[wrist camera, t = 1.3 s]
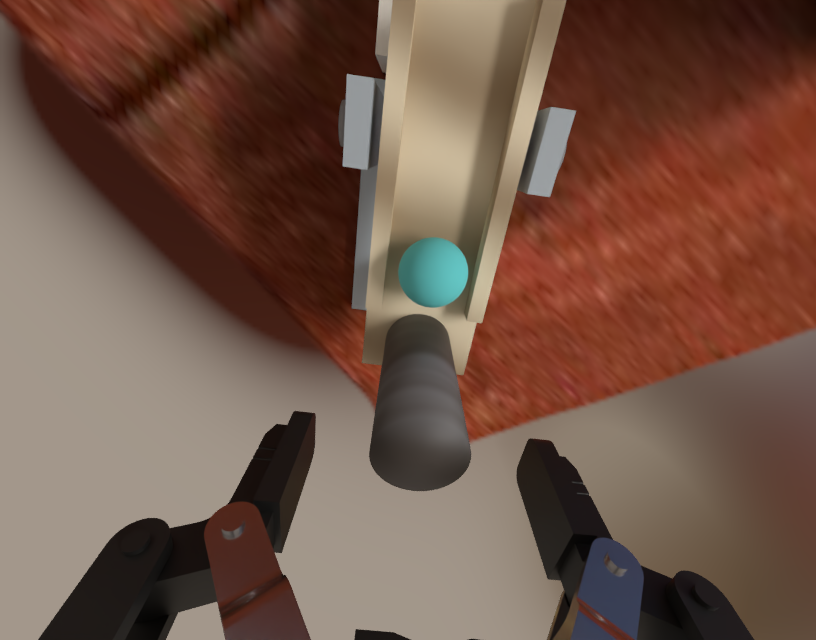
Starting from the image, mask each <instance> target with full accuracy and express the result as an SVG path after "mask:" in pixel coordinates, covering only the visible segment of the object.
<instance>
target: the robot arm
mask: <svg viewBox="0 0 816 640" xmlns="http://www.w3.org/2000/svg"><path fill="white" fill-rule="evenodd" d="M315 419H316V416H315V413H308V412H299V411H294V412H293V414H292V416H291V418H290V420H289V423H288V425H281V424H276V425H275V426H274V427H273V428H272V429H270V430H269V431H268V432H267V433H266V434H265V436H264V437H263V439H262V441H261V443H260V445H259V448H258V449H257V451H256V453H255V455H254V456H253V459H252V460H251V462H250V464H249V466H248V468H247V470H246V472H245V474H244V476H243V477H242V479H241V481H240V483H239V485H238V487H237V489H236V491H235V493H234V495H233V496H232V498H231V500H230V502H229V503H228V504H227V505H226V506H224V507H222V508H221V509H219V510H218V511H217V512H216V513H215V514H214V515H213V516H212V517H211V518H209V519H207V520H204V521H201V522H197V523H193V524H188V525H183V526H179V527H174V528H169V526H168V524H167V523H166V522H165V521H163V520H161V519H158V518H147V519H142V520H139V521H136V522H134V523H131V524H129V525H128V526H126V527H125V528H123V529H121V530H120V531H119V532H118V533H116V534H115V535H114V536H113V537H112V538H111V539H110V540H109V542H108V543H107V544H106V546H105V547H104V548H103V550H102V551H101V553H100V554H99V555H98V557H97V558H96V560H95V561H94V562H93V564H92V565H91V567H90V568H89V569H88V571H87V573H86V574H85V575H84V577H83V578H82V579H81V581H80V582H79V583H78V585H77V586H76V588H75V589H74V590H73V592H72V593H71V595H70V596H69V597H68V599H67V600H66V601H65V603H64V604H63V606H62V607H61V609H60V610H59V612H58V613H57V614H56V615H55V617H54V619H53V620H52V621H51V622H50V624H49V625H48V627H47V628H46V629H45V631H44V632H43V634H42V635H41V637H40V638H39V639H38V640H166V638H167V636H168V633H169V631H170V629H171V627H172V625H173V623H174V620H175V618H176V616H177V614H178V612H181V611H185V610H188V609H192V608H195V607H199V606H203V605H206V604H210V603H213V602H217V603H218V607H219V612H220V617H221V622H222V626H223V631H224V636H225V640H311V639H310V636H309V633H308V631H307V628H306V625H305V623H304V620H303V617H302V615H301V612H300V609H299V607H298V604H297V601H296V598H295V596H294V593H293V590H292V588H291V585H290V583H289V580H288V579H287V577H286V576H285V575H283V574H282V572H281V570H280V567H279V564H278V561H277V559H276V556H275V553H274V552H276V553H282V550H283V547H284V544H285V541H286V538H287V535H288V532H289V529H290V526H291V523H292V520H293V517H294V514H295V511H296V508H297V505H298V501H299V498H300V496H301V492H302V489H303V486H304V483H305V480H306V477H307V474H308V471H309V468H310V465H311V462H312V458H313V454H314V448H315V421H316V420H315ZM517 483H518V486H519V490H520V492H521V496H522V499H523V502H524V505H525V509H526V511H527V515H528V518H529V521H530V524H531V527H532V531H533V534H534V537H535V540H536V543H537V547H538V550H539V553H540V556H541V559H542V562H543V566H544V569H545V572H546V575H547V578H548V579H551V580H561V582H562V585H563V588H564V590H563V592H562V594H561V597H560V600H559V603H558V606H557V609H556V612H555V616H554V619H553V622H552V625H551V628H550V631H549V634H548V637H547V640H754V639H753V637H752V636H751V634H750V633H749V631H748V630H747V628H746V627H745V625H744V624H743V622H742V621H741V619H740V618H739V616H738V615H737V613H736V611H735V610H734V608H733V607H732V605H731V604H730V602H729V601H728V600H727V598H726V597H725V596H724V595H723V593H722V592H721V591H720V590H719V589H718V588H717V587H716V586H714V585H713V584H712V583H711V582H710V581H708V580H707V579H705V578H703V577H702V576H700V575H698V574H696V573H694V572H690V571H680V572H678V573H677V574H676V575H675V576H674V578H673V579H672V578H669V577H667V576H665V575H662V574H660V573H657V572H655V571H652V570H650V569H648V568H645V567H643V566H641V565H640V564H639V562H638V561H637V559H636V558H635V557H634V556H633V554H632V553H631V552H630V551H629V550H628V549H627V548H625V547H624V546H623V545H621V544H620V543H618V542H616V541H614V540H613V539H612V537H611V535H610V533H609V531H608V529H607V527H606V525H605V523H604V522H603V520H602V518H601V516H600V514H599V512H598V510H597V508H596V506H595V504H594V502H593V500H592V498H591V497H590V496H589V493H588V491H587V489H586V487H585V485H583V481H582V479H581V477H580V475H579V474H578V471H577V469H576V468H575V467H574V466H573V465H572V464H571V463H570V462H569V461H568V460H567V459H566V457H561V456H559V454H558V452H557V450H556V448H555V446H554V444H553V443H552V442H551V441H549V440H540V439H529V440H528V441H527V444H526V446H525V449H524V451H523V454H522V456H521V459H520V462H519V464H518V467H517ZM355 640H410V639H408V638H405V637H403V636H401V635H398V634H396V633H393V632H381V631H370V630H358V629H356V632H355ZM469 640H478V639H469Z"/></svg>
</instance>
